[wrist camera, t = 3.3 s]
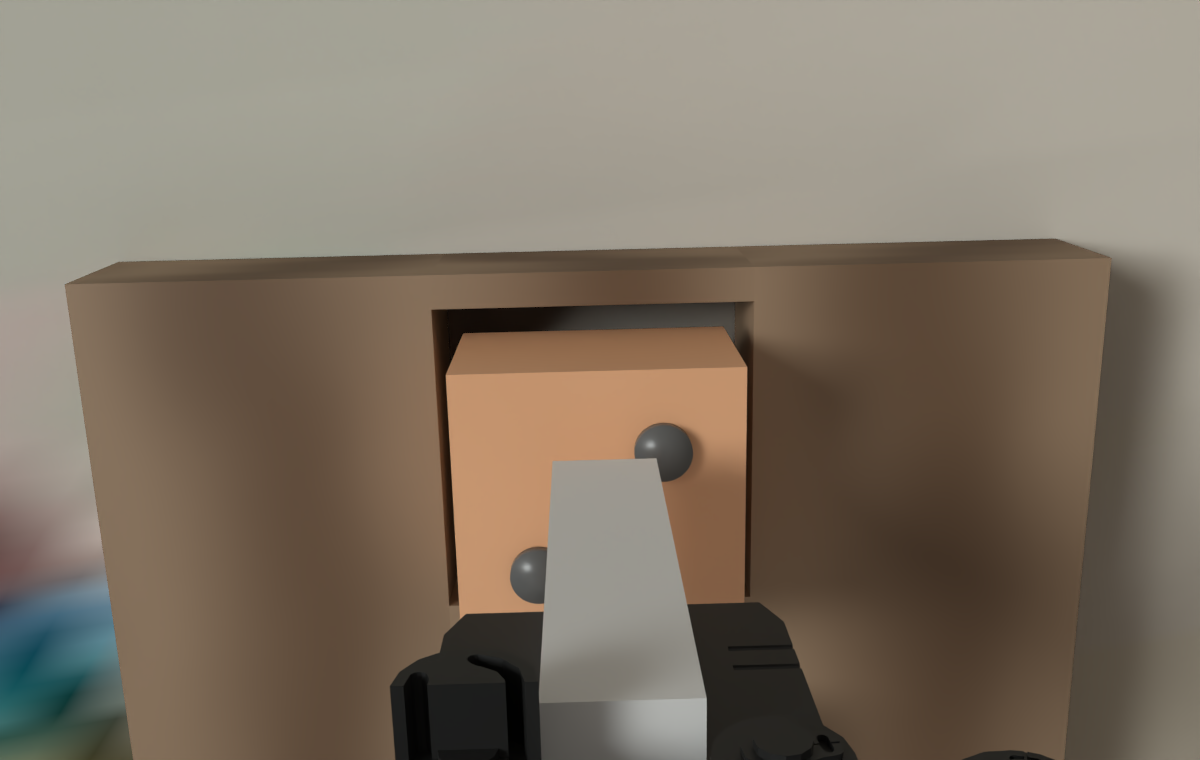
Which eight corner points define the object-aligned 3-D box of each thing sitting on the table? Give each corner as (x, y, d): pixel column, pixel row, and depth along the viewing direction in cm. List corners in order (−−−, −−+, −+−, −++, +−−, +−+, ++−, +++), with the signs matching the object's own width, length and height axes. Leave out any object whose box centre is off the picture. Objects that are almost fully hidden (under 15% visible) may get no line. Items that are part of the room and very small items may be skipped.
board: (228, 1103, 27) (196, 1199, 25) (118, 262, 22) (64, 284, 20) (986, 1074, 27) (1025, 1167, 25) (1055, 238, 22) (1111, 258, 20)
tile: (475, 573, 21) (460, 654, 18) (463, 332, 20) (444, 378, 17) (721, 565, 22) (745, 646, 19) (723, 326, 20) (749, 370, 17)
